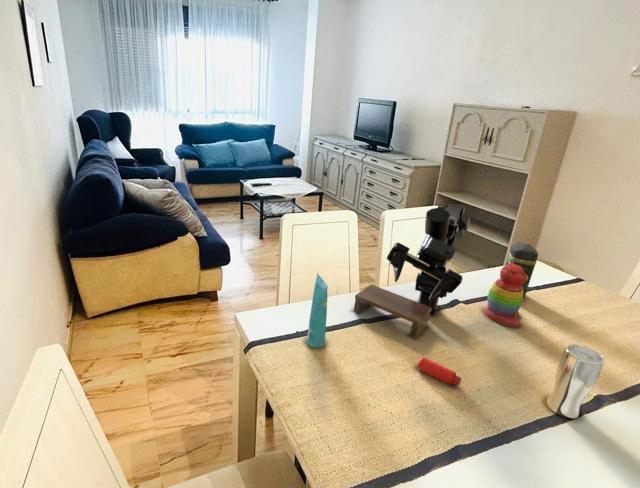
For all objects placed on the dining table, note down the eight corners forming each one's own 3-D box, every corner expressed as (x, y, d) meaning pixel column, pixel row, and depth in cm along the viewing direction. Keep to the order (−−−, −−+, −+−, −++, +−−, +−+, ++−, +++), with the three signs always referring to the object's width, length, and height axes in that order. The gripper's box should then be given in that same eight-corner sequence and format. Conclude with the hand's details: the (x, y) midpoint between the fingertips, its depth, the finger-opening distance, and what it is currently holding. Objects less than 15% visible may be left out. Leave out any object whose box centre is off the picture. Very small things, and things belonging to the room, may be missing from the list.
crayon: (417, 371, 95) (419, 360, 94) (422, 365, 98) (424, 354, 97) (455, 390, 90) (459, 379, 89) (460, 383, 92) (463, 372, 91)
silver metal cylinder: (574, 401, 88) (597, 347, 83) (586, 424, 82) (611, 367, 77) (540, 393, 90) (560, 340, 85) (549, 414, 84) (571, 359, 79)
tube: (329, 349, 102) (337, 285, 95) (313, 352, 100) (319, 287, 93) (317, 333, 108) (323, 272, 101) (301, 336, 107) (307, 274, 100)
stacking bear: (519, 329, 115) (537, 276, 109) (482, 319, 120) (497, 267, 113) (518, 313, 124) (534, 263, 118) (483, 304, 128) (497, 255, 122)
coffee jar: (526, 303, 130) (542, 253, 124) (500, 297, 133) (514, 248, 126) (521, 290, 139) (536, 243, 132) (497, 286, 142) (510, 239, 135)
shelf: (368, 300, 127) (371, 284, 125) (428, 324, 115) (431, 307, 113) (352, 311, 120) (355, 294, 118) (414, 339, 108) (418, 321, 106)
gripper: (411, 214, 101) (389, 254, 92) (480, 248, 96) (464, 294, 88) (396, 239, 110) (375, 277, 101) (458, 272, 105) (442, 315, 97)
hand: (412, 290), depth 96 cm, fingers open, 9 cm apart
